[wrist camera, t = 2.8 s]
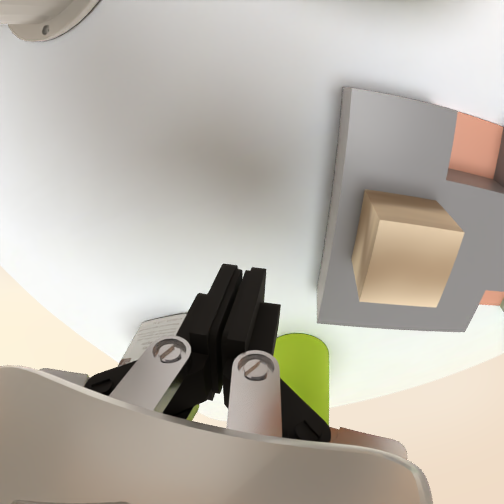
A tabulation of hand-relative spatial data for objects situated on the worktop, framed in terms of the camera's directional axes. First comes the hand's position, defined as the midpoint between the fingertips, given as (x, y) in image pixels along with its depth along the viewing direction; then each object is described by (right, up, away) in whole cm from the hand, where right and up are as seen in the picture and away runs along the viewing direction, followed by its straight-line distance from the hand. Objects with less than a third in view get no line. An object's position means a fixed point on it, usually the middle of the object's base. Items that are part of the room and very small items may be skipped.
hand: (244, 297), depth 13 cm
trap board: (+17, +4, +7) cm, 19 cm away
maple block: (+8, +3, +5) cm, 10 cm away
